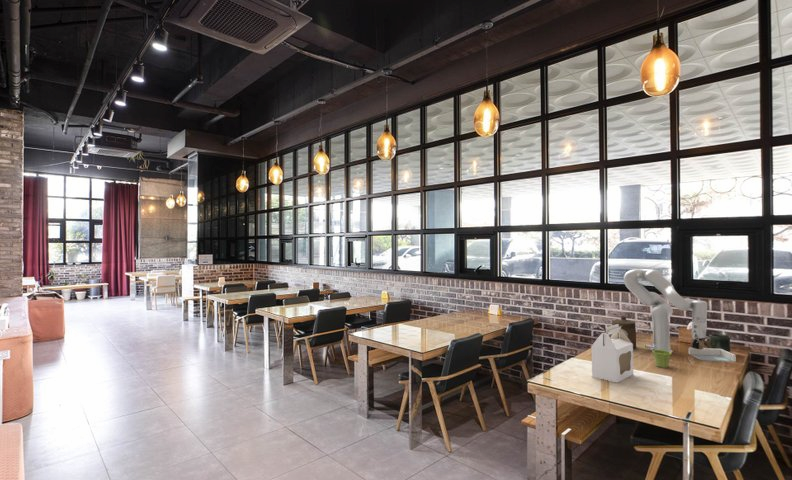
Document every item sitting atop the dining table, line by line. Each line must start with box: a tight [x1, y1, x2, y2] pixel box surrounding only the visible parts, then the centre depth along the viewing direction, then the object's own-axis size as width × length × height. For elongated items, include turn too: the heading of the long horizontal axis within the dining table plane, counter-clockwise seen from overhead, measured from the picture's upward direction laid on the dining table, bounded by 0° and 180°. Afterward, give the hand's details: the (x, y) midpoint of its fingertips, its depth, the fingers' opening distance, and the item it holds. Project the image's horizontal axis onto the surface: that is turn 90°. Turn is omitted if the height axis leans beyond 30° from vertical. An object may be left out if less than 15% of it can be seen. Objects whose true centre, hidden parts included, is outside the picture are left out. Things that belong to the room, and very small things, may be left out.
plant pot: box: [652, 350, 672, 369], centre depth 242 cm, size 9×9×9 cm
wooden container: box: [611, 315, 637, 350], centre depth 289 cm, size 15×15×22 cm
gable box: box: [591, 324, 634, 384], centre depth 226 cm, size 22×13×28 cm, turn 129°
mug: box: [703, 333, 732, 353], centre depth 270 cm, size 11×15×12 cm
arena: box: [688, 347, 737, 363], centre depth 256 cm, size 19×15×5 cm
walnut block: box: [690, 339, 705, 350], centre depth 260 cm, size 5×5×5 cm
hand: (697, 347), depth 260 cm, fingers closed on walnut block, 5 cm apart
